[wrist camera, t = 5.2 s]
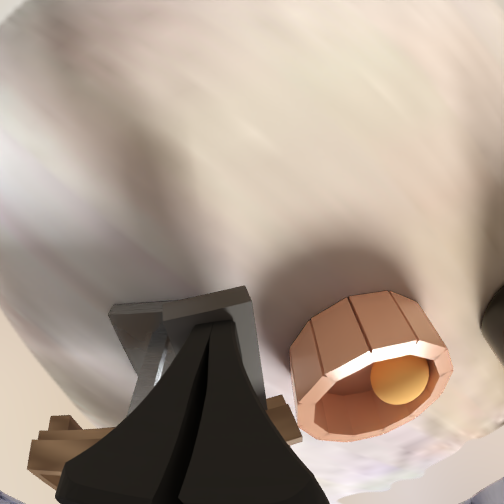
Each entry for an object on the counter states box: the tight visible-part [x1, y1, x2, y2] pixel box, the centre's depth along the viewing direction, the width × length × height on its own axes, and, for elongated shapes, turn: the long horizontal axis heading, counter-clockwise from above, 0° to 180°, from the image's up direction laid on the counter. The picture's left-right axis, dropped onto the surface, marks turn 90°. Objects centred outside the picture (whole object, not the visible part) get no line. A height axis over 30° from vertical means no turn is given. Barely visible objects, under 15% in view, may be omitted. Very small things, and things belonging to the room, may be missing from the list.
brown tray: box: [27, 286, 302, 490], centre depth 13 cm, size 14×14×4 cm
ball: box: [370, 354, 429, 405], centre depth 18 cm, size 4×4×4 cm
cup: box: [289, 291, 453, 442], centre depth 18 cm, size 10×10×4 cm
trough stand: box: [108, 300, 178, 416], centre depth 17 cm, size 6×12×8 cm, turn 7°
